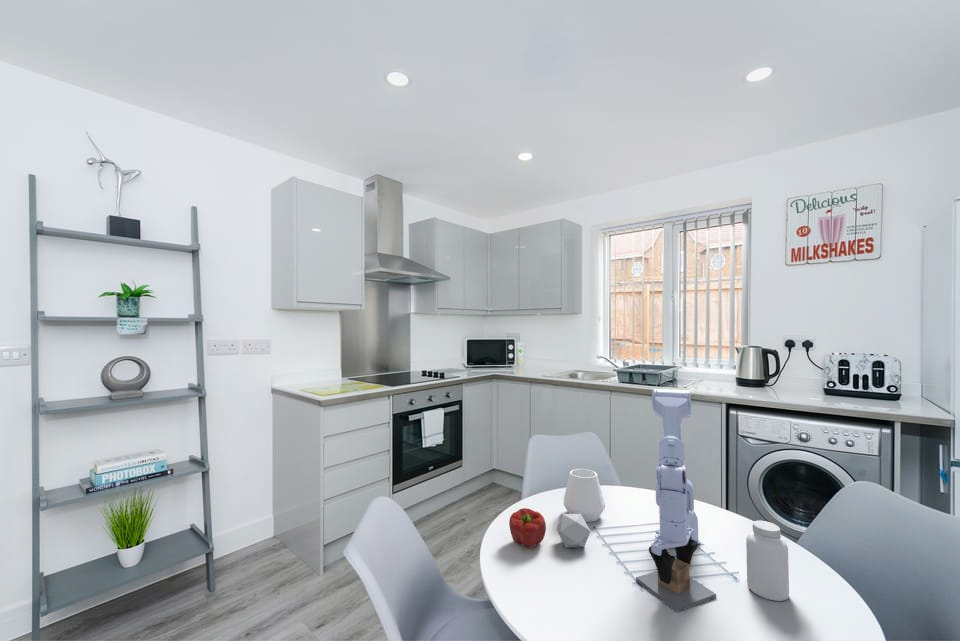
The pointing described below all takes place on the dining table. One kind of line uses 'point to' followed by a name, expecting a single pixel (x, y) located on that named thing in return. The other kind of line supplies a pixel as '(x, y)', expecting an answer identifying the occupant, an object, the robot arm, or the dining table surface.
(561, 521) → the die
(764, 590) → the pill bottle
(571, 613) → the dining table surface
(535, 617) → the dining table surface
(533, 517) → the vegetable
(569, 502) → the white vase
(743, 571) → the dining table surface
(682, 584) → the tan cube
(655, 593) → the slate coaster
